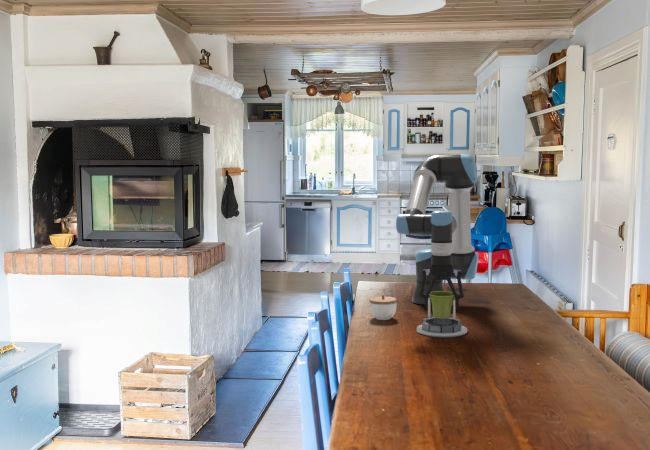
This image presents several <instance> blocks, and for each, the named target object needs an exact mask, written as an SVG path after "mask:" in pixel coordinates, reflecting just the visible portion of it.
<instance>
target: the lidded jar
mask: <svg viewBox="0 0 650 450" xmlns="http://www.w3.org/2000/svg"><path fill="white" fill-rule="evenodd" d="M368 301H369V308H370V313H371V314H372V316H373V317H374V318H375V319H376V320H377V321H378V320H380V321H388V320H391V319H392V317H393V316H394V315H395V314H396V311H397V301H398V300H397V298H396V297H394V296H393V297H392V296H385V294H381V296H373V297H370V298H369V300H368Z"/></svg>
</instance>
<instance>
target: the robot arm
mask: <svg viewBox="0 0 650 450" xmlns="http://www.w3.org/2000/svg"><path fill="white" fill-rule="evenodd" d="M412 179H413V185H412V188H411V192H410V195H409V198H408V202H407V205H406V209H405V212H404V213H403V214H401V213H400V214H398V215H397V216H396V220H395V228H396V232H397V233H398V234H400V235H408V236H409V235H410V236H411V235H412V236H413V235H417V236H418V235H422V236H423V235H425V236H426V235H429V236H430V237H431V239H430V248H426V249H422V250H419V251H417V252H416V254H415V256H416V257H415V287H414V291H413V294H412V296H411V302H412V303H413V304H418V305H424V307H425V308H427V318H430V317H431V306H432V304H431V299H430V295H429V294H430V293H431V292H435V291H445V292H446V289H445V286H444V281H446V282H447V283H448V285H449V288H450V289H451V292H452V293H453V295H455V296H454V298H453V301H452V314H453V315H452V318H455V319H456V309H459V308H460V307H459V306H460V304H459V303H460V302H459V301H460V299H463V298H465V294H464V289H463V283H462V280H464V281H465V280H473V279H475V277H476V276H477V271H478V264H479V263H478V262H479V252H476V249H475V247H474V246H473V245H472V232H471V230H472V228H471V227H472V225H471V223H472V222H471V190H472V189H473V188H474V183H477V182H478V169H477V163H476V161H475V157H474V156H473V155H472V154H467V153H466V154H465V153H456V154H455V153H453V154H452V153H451V154H435V155H431V156H429V157H427V158H426V159H424V160H423V161H422V162H421V163H420V164H419V165H417V167H416V169H415V170H414V174H413V176H412ZM437 183H444V184H445V187H444V188H445V189H446V190H447V191H448V192H449V193H448V196H449V197H448V198H449V199H448V200H449V202H448V203H449V210H435V211H432V212H431V214H426V211H427V207H428V203H429V200H430V196H431V192H432V188H433V187H434V186H435V185H436V184H437ZM452 280H456V281H457V286H458V291H459V294H458V292H457V289H456V287H455V286H454V283H453V281H452Z"/></svg>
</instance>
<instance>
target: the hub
mask: <svg viewBox="0 0 650 450" xmlns="http://www.w3.org/2000/svg"><path fill="white" fill-rule="evenodd" d="M416 332H417V333H418V334H420V335H423V336H425V337H433V338H456V337H462V336H464V335H467V333H468V327H466V326H464V325H462V320H461V319H458V318H456V317H455V318H453V317H450V318H446V319H437V318H436V317H433V316H430V317H427V318H423V319H422V322H421V324H419V325H417V327H416Z"/></svg>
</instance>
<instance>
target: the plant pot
mask: <svg viewBox="0 0 650 450" xmlns="http://www.w3.org/2000/svg"><path fill="white" fill-rule="evenodd" d="M429 295H430V299H431V304H432V305H431V310H432V317H436V318H437V319H446V318H451V312H452V308H453V298H455V297H454V296H455V295H453V292H452V291H446V290H445V291H435V292H431V293H430V294H429Z"/></svg>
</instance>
